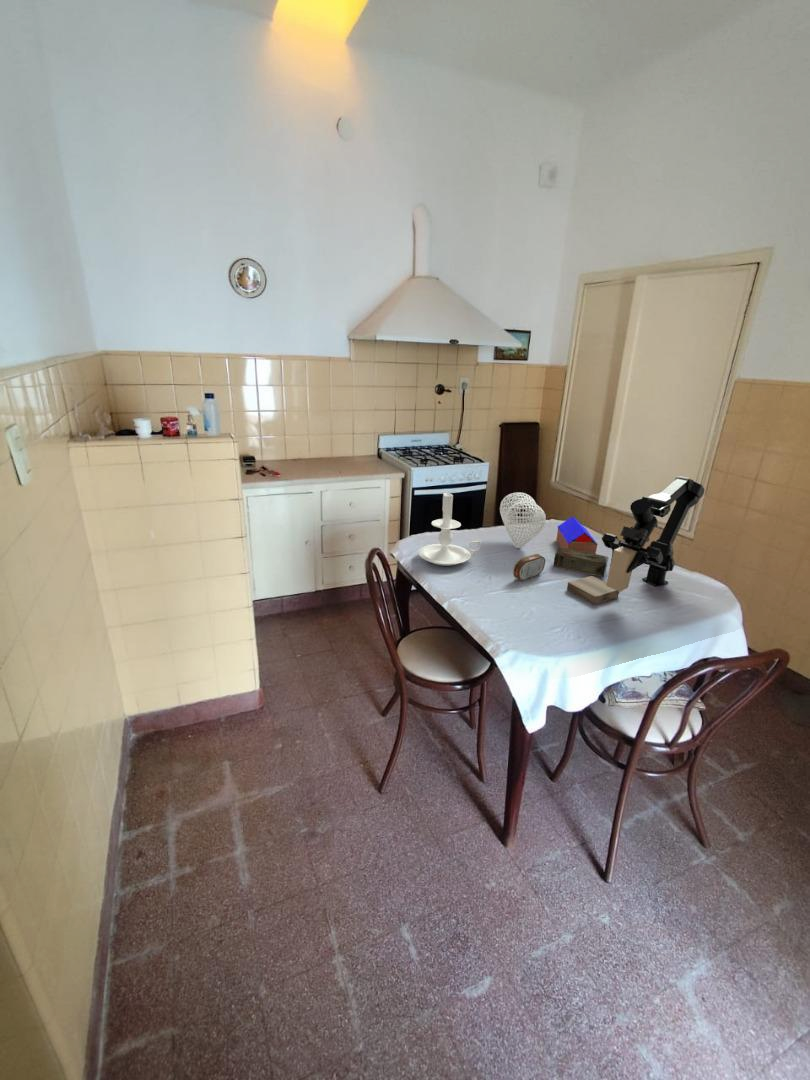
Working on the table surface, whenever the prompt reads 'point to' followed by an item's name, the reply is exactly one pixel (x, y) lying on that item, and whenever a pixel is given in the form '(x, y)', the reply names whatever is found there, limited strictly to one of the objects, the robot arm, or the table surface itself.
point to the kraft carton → (620, 568)
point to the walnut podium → (592, 590)
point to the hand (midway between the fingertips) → (618, 569)
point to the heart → (534, 518)
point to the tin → (529, 567)
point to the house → (575, 537)
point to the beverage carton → (580, 561)
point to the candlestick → (446, 540)
